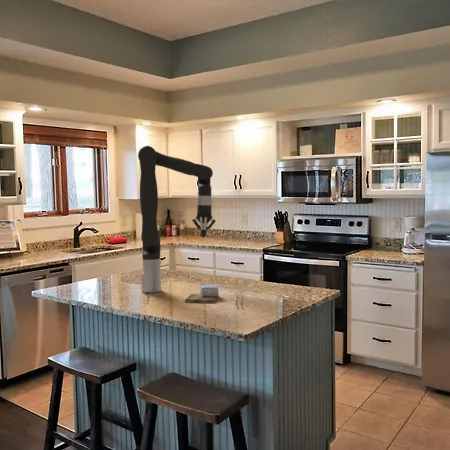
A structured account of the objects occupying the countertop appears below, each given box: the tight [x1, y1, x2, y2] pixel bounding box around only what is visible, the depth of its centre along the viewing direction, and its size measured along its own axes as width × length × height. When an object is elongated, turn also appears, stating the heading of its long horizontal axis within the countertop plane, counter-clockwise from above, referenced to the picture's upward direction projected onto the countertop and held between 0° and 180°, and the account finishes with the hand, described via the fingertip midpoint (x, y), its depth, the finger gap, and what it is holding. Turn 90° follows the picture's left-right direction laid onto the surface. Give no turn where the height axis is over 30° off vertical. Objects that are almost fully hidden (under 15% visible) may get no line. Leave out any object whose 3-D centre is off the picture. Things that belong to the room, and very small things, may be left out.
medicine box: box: [199, 283, 219, 297], centre depth 241 cm, size 8×4×9 cm
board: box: [184, 293, 220, 304], centre depth 237 cm, size 14×11×2 cm
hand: (203, 237), depth 262 cm, fingers closed
